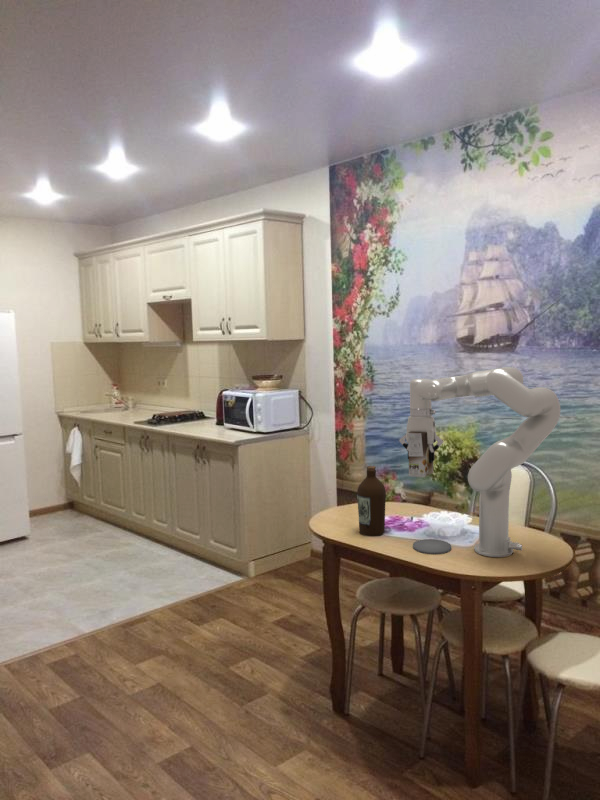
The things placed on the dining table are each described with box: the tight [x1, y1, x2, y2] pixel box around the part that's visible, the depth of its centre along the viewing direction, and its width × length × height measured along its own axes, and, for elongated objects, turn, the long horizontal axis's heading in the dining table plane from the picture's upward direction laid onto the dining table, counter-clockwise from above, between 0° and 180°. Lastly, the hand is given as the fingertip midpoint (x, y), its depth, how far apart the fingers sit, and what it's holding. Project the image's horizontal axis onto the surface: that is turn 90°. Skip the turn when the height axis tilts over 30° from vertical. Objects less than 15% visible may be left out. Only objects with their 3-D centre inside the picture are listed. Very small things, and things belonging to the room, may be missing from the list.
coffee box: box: [408, 432, 434, 478], centre depth 236 cm, size 9×6×16 cm
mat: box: [412, 538, 452, 555], centre depth 226 cm, size 13×13×1 cm
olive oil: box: [356, 465, 387, 537], centre depth 243 cm, size 11×11×25 cm
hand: (421, 461), depth 237 cm, fingers closed on coffee box, 6 cm apart
